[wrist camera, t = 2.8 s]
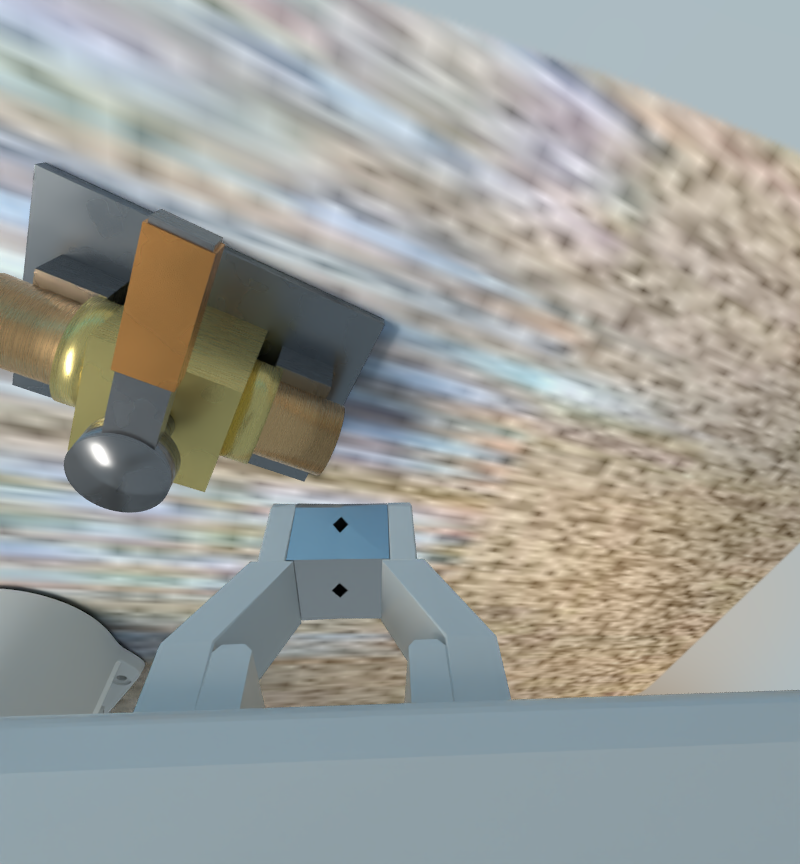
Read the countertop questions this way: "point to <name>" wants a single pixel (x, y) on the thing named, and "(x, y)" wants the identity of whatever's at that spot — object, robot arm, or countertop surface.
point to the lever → (148, 368)
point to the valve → (214, 347)
